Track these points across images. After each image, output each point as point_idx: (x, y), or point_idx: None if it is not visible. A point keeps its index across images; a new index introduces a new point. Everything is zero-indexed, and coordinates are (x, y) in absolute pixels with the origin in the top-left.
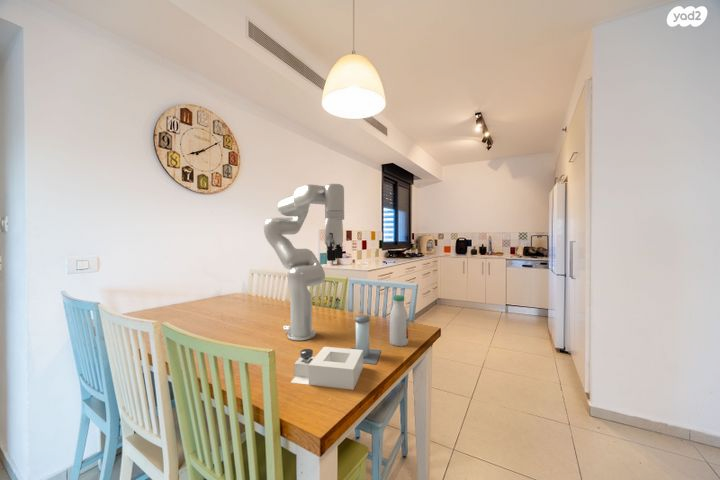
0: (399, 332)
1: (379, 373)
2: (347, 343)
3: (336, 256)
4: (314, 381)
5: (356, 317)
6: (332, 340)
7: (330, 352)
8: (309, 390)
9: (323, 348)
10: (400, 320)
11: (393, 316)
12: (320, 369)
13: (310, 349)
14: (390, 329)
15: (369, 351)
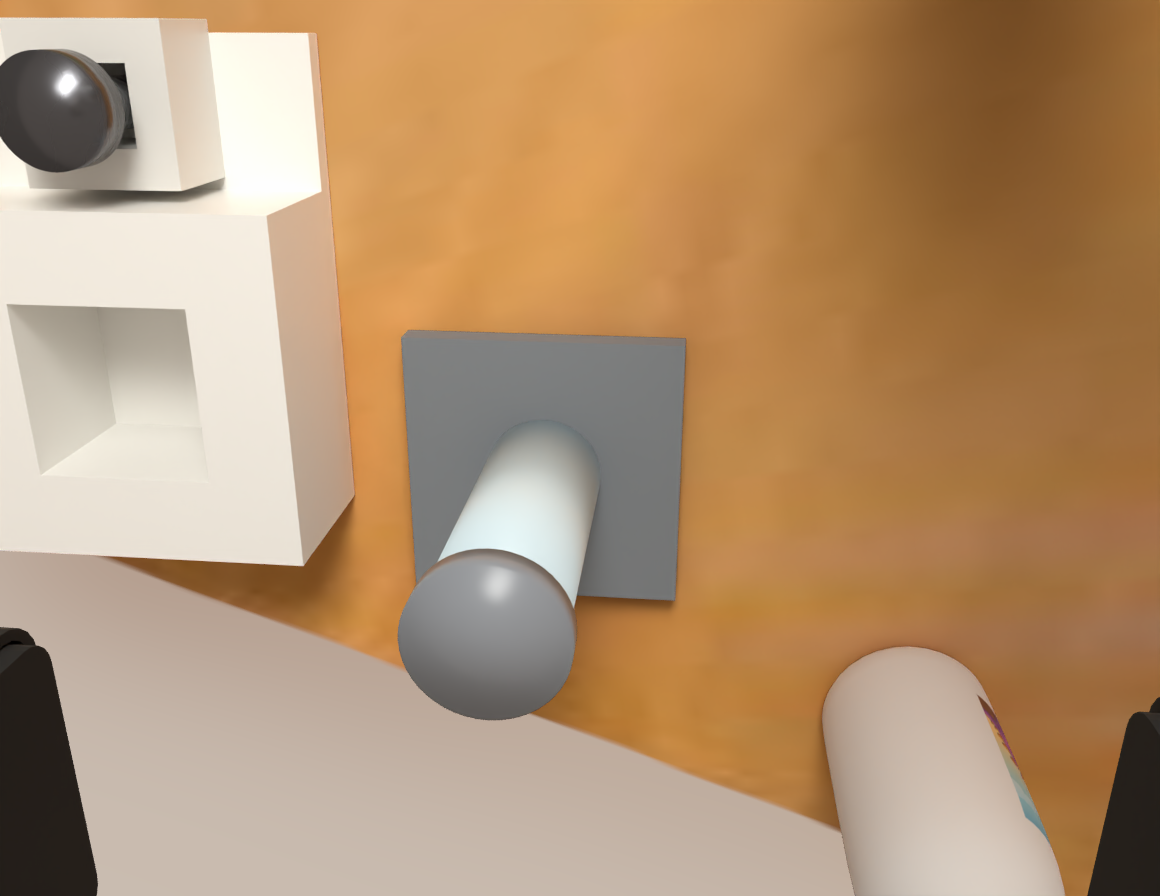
0: (835, 798)
1: (344, 602)
2: (853, 265)
3: (1148, 827)
4: None
5: (459, 588)
6: (924, 77)
7: (189, 309)
8: None
9: (227, 225)
10: (854, 892)
11: (881, 859)
12: None
13: (96, 134)
14: (890, 731)
15: (625, 516)
